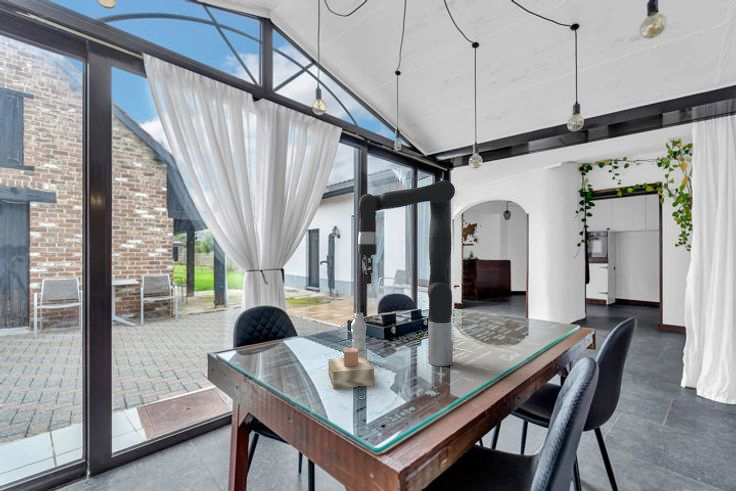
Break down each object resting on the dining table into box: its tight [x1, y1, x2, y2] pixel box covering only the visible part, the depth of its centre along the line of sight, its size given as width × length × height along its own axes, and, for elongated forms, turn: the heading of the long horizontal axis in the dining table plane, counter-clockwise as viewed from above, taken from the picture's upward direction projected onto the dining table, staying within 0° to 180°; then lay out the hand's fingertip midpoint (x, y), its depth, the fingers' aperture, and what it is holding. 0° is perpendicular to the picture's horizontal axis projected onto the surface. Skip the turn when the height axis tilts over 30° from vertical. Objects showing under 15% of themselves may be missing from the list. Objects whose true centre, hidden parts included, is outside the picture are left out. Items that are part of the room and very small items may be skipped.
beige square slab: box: [327, 357, 375, 390], centre depth 123 cm, size 14×14×6 cm
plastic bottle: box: [350, 312, 368, 358], centre depth 143 cm, size 6×7×20 cm
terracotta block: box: [343, 347, 358, 366], centre depth 123 cm, size 5×5×5 cm
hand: (367, 282), depth 140 cm, fingers open, 8 cm apart
